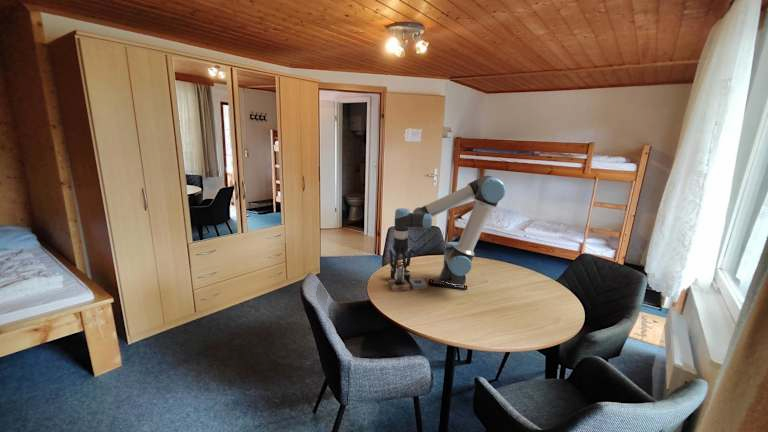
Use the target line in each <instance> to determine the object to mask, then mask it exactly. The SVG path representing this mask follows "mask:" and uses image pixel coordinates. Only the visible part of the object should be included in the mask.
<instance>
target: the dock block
mask: <svg viewBox="0 0 768 432" xmlns="http://www.w3.org/2000/svg"><path fill="white" fill-rule="evenodd" d="M387 285H388V287H389V288H390V290H391V293H396V292H410V291H411V286H410V284H408V282H407V281H406V279H402V285H396V280H393V279H388V280H387Z"/></svg>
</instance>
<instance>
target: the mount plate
mask: <svg viewBox="0 0 768 432" xmlns="http://www.w3.org/2000/svg"><path fill="white" fill-rule="evenodd" d="M409 285H410V288H411V289H412V290H424V289H426V290H427V289H428V284H427V282H426V281H425V280H424V278H410V279H409Z"/></svg>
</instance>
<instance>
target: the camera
mask: <svg viewBox="0 0 768 432" xmlns="http://www.w3.org/2000/svg"><path fill="white" fill-rule="evenodd" d="M411 275H412V273H411V271H410V270H408V269H406V273H404V279H406V281H407V282H408V284H409V279H411ZM390 280H396V279H395V273H393V267H391V266H390ZM409 285H410V284H409Z"/></svg>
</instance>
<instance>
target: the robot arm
mask: <svg viewBox="0 0 768 432" xmlns="http://www.w3.org/2000/svg"><path fill="white" fill-rule="evenodd" d="M506 190H507V189H506V186H505V184H504V183H503V181H502V180H500V179H499V178H497V177H493V176H491V175H484V176H481V177H479V178H476V179H474V180H473V181H471V182H469V183H467V184H466V186H464V187H462V188H460V189H458V190H456V191H454V192H452V193H449V194H446V195H445V196H443V197H441V198H439V199H436V200H434V201H432V202H430V203H428V204H426V205H423V206H421V207H416V208H415V209H414V210H413V211H412V212H410V210H409V208H402V207H401V208H396V209H395V211H394V228H393V229H394V230H393V231H394V235H393V236H394V237H393V246H392V248H388V249H387V250H388V253H389V254H388V255H389V266H390V268H391V267H393V273H395V279H397V270H398V268H397V261H399V257H400V255H401V258H402V259H401V261H402V262H403V269H402V279H404V273H406V270H407V268H408V267H410V265H411V256H412V253H413V251H414V250H413V248H412V247H409V246H408V245H409V228H418V229H419V228H420V229H430V228H432V224H433V223H432V222H433V217H435V216H438V215H441V214H442V213H444V212H446V211H449V210H451V209H453V208H455V207H457V206H460V205H461V204H464V203H466V202H468V201H470V200H474V202H475V204H474V205H473V208H472V210H471V213H470V215H469V217H468V220H467V222H466V225H465V226H464V229H463V231H462V233H461V236H460V238H459V240H458V241H449V242H446V243H444V245H445V246H444V256H443V257H444V258H443V268H442V269H441V271H440V274H439V281H440V280H441V281H444V282H448V283H453V284H462V285H461V286H463V285H465V284H466V283H467V282H466V280H467V278H466V275H467V274H468V273H470V272H471V270H472V266H473V265H472V262H473V259H474V256H475V255H476V254H475V252H474V249H475V247H476V245H477V242H478V241H479V239H480V236H481V234H482V231H483V230H484V227H485V226H486V223H487V220H488V218H489V215H490V214H491V212H492V210H493V209H495V208H497V206H498V204H499V202H500V201H501V200H503V198H505V195H506ZM406 252H407V255H406ZM393 253H395V254H393ZM441 281H440V282H441Z"/></svg>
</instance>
